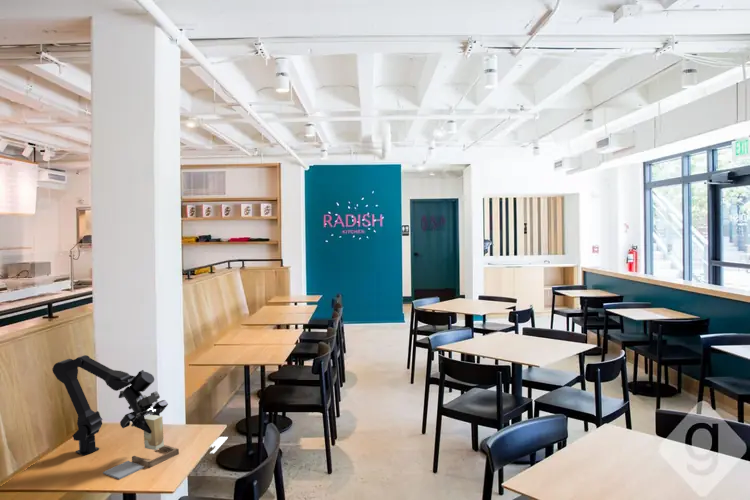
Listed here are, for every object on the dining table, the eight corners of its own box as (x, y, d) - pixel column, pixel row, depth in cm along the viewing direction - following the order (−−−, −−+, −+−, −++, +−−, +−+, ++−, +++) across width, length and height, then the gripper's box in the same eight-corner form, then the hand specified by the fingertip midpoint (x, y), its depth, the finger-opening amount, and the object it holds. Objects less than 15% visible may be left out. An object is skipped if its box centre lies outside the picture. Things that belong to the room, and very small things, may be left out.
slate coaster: (103, 473, 185) (103, 471, 185) (128, 462, 193) (128, 460, 193) (119, 479, 180) (119, 477, 180) (144, 467, 188) (144, 466, 188)
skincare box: (144, 448, 196) (141, 418, 196) (153, 444, 200) (150, 414, 200) (156, 450, 193) (153, 419, 193) (164, 445, 197) (162, 415, 197)
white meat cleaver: (201, 454, 199) (201, 451, 199) (216, 439, 214) (216, 436, 214) (213, 454, 199) (213, 451, 199) (228, 438, 214) (228, 436, 214)
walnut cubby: (132, 461, 194) (131, 456, 194) (161, 448, 205) (160, 443, 205) (149, 467, 188) (149, 462, 188) (178, 453, 200) (178, 448, 199)
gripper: (123, 394, 189) (145, 427, 185) (163, 380, 206) (184, 410, 201) (110, 411, 193) (131, 444, 189) (151, 396, 210) (171, 426, 205)
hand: (155, 430), depth 196 cm, fingers closed on skincare box, 4 cm apart
